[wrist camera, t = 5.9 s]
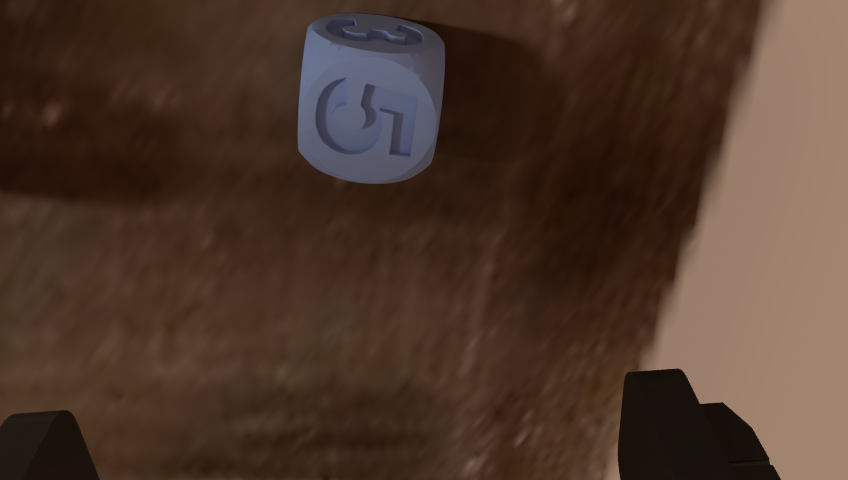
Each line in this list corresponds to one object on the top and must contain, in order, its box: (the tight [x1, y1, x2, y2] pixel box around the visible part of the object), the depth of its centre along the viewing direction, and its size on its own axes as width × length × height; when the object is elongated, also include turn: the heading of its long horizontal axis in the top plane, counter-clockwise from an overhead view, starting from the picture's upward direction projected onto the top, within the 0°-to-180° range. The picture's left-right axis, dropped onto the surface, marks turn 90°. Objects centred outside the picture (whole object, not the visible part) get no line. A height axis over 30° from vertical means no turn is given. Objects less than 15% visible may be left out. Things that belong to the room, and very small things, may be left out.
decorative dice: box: [298, 13, 445, 184], centre depth 24 cm, size 4×4×4 cm
